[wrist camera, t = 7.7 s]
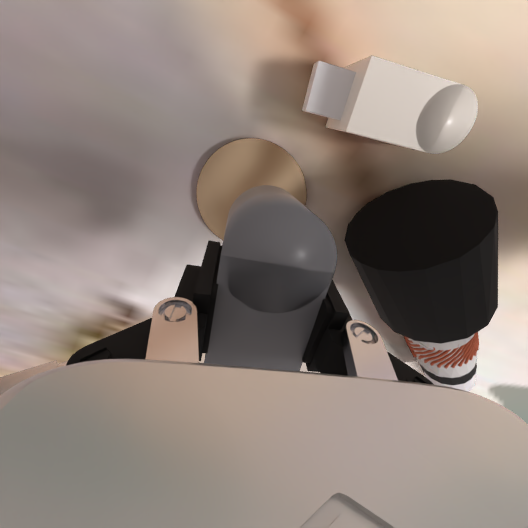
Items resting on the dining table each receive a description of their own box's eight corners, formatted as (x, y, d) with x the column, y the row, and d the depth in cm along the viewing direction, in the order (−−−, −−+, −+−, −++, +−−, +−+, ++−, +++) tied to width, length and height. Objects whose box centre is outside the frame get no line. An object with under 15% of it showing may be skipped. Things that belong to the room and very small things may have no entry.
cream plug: (439, 97, 20) (491, 93, 16) (414, 150, 22) (454, 159, 18) (310, 57, 18) (330, 42, 14) (295, 119, 20) (308, 121, 16)
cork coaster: (319, 153, 22) (321, 154, 21) (289, 252, 27) (290, 255, 26) (203, 125, 20) (201, 125, 20) (193, 236, 25) (192, 239, 25)
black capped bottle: (412, 353, 44) (417, 416, 38) (349, 201, 25) (339, 279, 19) (487, 356, 38) (507, 431, 32) (478, 163, 20) (521, 257, 14)
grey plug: (233, 177, 12) (230, 194, 8) (312, 194, 13) (353, 218, 8) (206, 353, 16) (193, 431, 12) (266, 359, 17) (276, 435, 12)
